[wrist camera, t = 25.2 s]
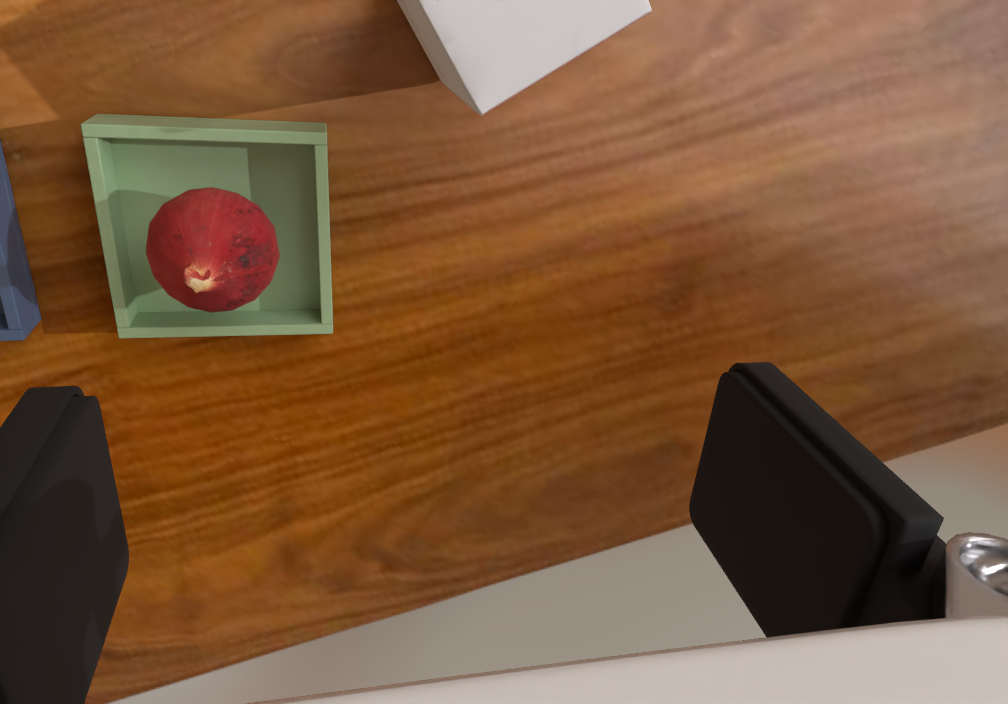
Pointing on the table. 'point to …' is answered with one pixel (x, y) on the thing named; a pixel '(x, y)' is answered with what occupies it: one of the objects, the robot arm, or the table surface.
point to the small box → (511, 40)
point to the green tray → (225, 165)
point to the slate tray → (14, 270)
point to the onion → (212, 249)
